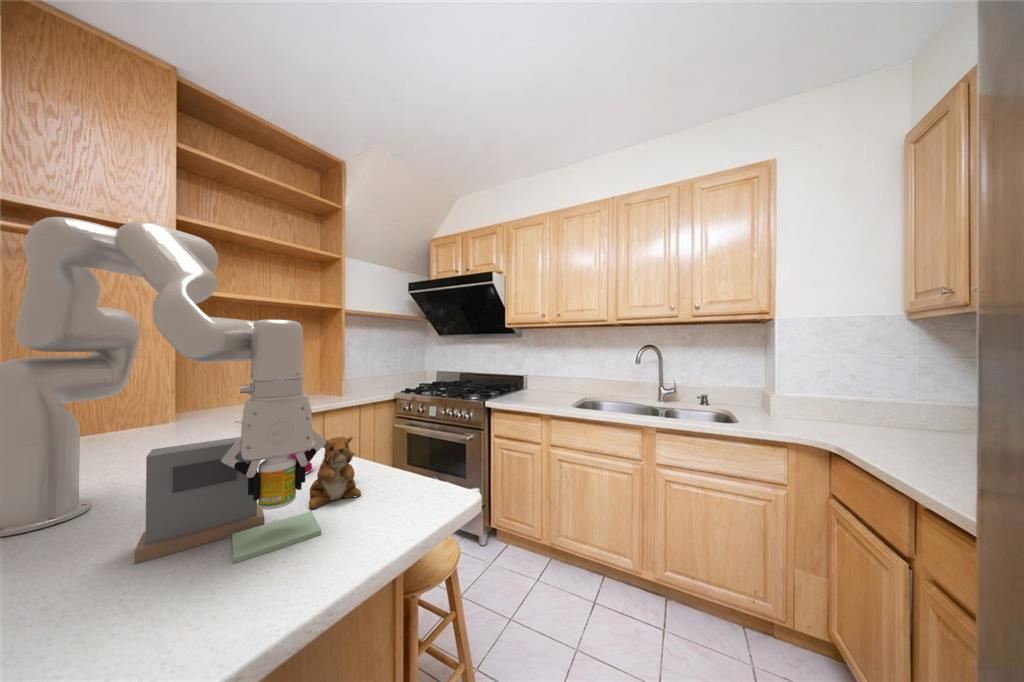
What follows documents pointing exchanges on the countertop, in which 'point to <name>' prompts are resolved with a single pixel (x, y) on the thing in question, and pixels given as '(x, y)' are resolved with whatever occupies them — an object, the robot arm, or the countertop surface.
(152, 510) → the panel
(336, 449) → the stuffed squirrel
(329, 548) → the countertop surface
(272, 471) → the supplement bottle
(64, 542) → the countertop surface
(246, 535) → the pad
